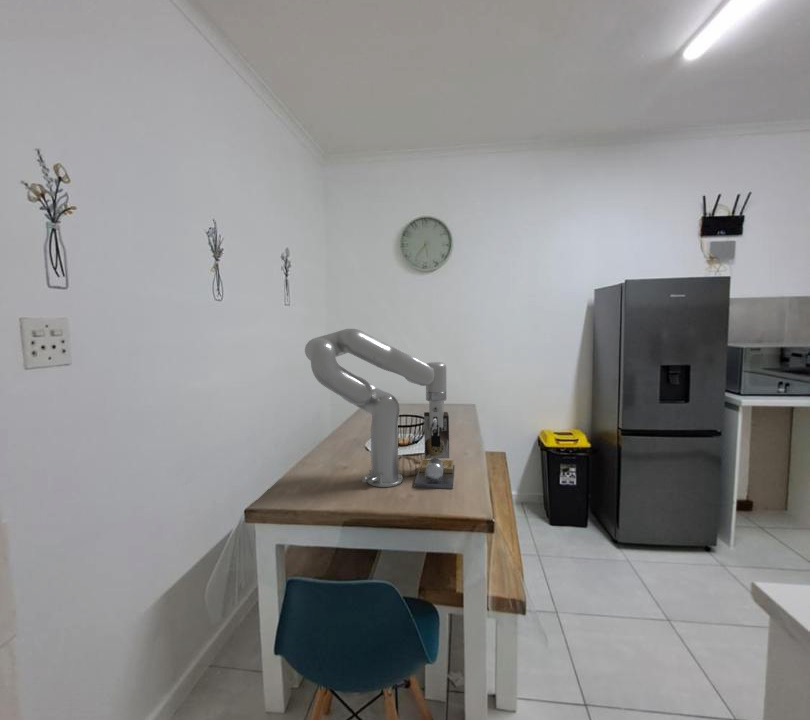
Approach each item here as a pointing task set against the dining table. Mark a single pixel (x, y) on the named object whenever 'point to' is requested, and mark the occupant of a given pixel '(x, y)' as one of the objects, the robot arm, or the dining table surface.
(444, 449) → the coffee box
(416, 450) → the dining table surface
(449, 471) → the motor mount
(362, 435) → the dining table surface
